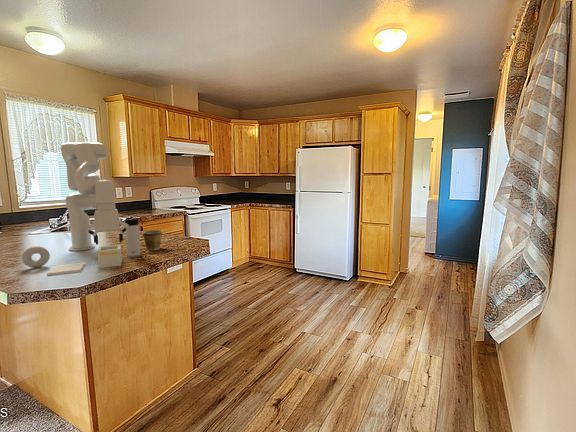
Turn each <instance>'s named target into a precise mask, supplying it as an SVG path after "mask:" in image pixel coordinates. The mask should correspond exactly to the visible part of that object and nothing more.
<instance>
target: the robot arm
mask: <svg viewBox="0 0 576 432" xmlns="http://www.w3.org/2000/svg"><path fill="white" fill-rule="evenodd" d="M60 153H61V156H62V159H63V161H64V163H65V166H66V178H67V179H66V180H67V186H68V188H69V190H70V191H73V192H75V193H69V194H68V195H67V196H66V197H65V204H66V209H67V212H68V220H69V229H70V235H71V237H70V238H71V246H69V248H68V250H69V251H73V252H74V251H75V252H76V251H77V252H78V251H87V250H91V249H94V248H96V245H97V246H98V245H99V235H98V233H108V232H118V237H119V238H118V239H119V243H120V244H121V243H122V241H124V233H126V229H127V227H128V224H127V223H125V221H124V222H123V221H121V219H120V215H119V211H118V209H117V208H116V198H115V197H116V196H115V184H114V182H113V180H109V179H105V178H103V179H101V177H100V175H98V174H96V172H98V171H99V170H100V169H101V163H100V160H101V161H103V160H106V159H107V158H108V155H109V154H108V153H109V152H108V149H107V146H106V145H105V144H104V143H100V142H89V141H82V142H66V143H65V142H64V143H62V144H61V147H60ZM76 192H78V193H76ZM89 210H94V213H93V214H94V215H93V216H94V217H93V222H92V223H91V219H90V216H89V215H88V214H87V213H86V212H85V211H89ZM121 226H124V227H123V228H121ZM93 227H94V231H93V229H92V228H93ZM92 236H93V242H92ZM93 243H94V244H93Z"/></svg>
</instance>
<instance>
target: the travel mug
mask: <svg viewBox="0 0 576 432" xmlns="http://www.w3.org/2000/svg"><path fill="white" fill-rule="evenodd" d="M124 223H127V224H128V227H127V229H126V231H125V240H126V241H125V242H126V243H125V244H126V254H127V255H126V256H127V258H129V259H130V258H131V259H134V258H139V257H141V255H142V254H141V242H140V241H141V240H140V239H141V238H140V228H139V227H140V225H139V218H138V217H137V218H132V219H130V218H129V219H127V220H124Z"/></svg>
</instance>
